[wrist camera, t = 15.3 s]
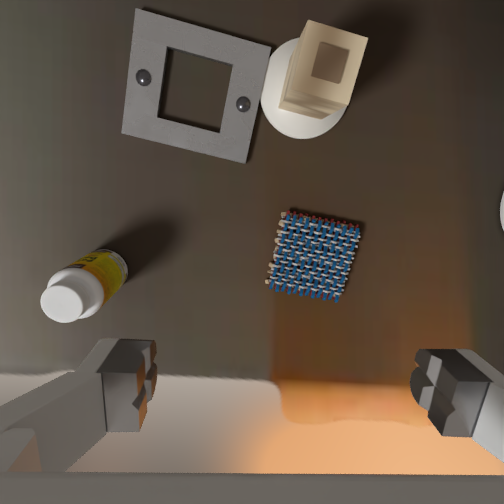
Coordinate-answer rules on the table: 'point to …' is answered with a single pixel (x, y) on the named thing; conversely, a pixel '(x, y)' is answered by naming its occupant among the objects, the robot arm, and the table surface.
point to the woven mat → (312, 255)
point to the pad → (271, 95)
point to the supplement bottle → (84, 286)
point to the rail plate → (152, 80)
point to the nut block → (322, 71)
